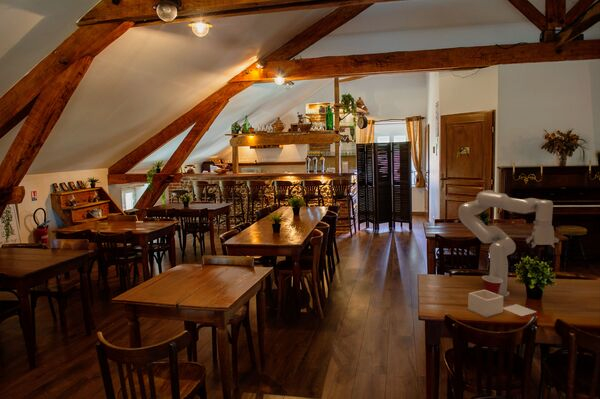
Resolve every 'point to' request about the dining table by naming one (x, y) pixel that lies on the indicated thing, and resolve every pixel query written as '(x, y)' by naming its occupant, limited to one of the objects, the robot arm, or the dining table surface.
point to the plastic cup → (492, 283)
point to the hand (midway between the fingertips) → (541, 254)
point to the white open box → (485, 303)
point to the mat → (519, 310)
